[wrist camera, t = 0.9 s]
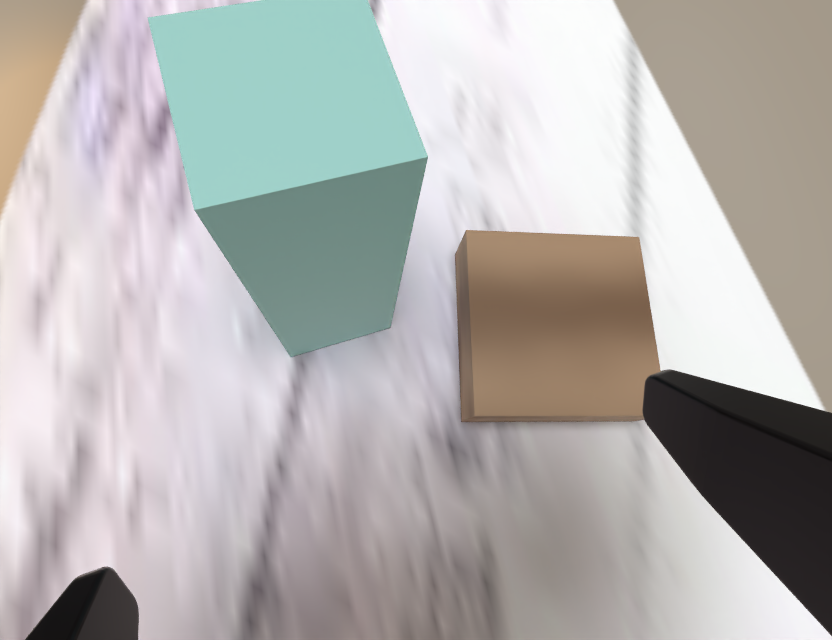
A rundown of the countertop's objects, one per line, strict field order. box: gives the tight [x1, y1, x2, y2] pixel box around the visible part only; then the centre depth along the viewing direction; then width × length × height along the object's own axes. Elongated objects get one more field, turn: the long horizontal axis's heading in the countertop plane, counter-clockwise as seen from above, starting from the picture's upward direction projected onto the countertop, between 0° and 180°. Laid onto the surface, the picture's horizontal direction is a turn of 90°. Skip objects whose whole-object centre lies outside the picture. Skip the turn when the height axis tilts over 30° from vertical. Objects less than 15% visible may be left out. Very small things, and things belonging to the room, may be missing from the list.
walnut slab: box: [455, 230, 661, 422], centre depth 22 cm, size 8×8×3 cm
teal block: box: [148, 0, 428, 357], centre depth 16 cm, size 5×5×13 cm
